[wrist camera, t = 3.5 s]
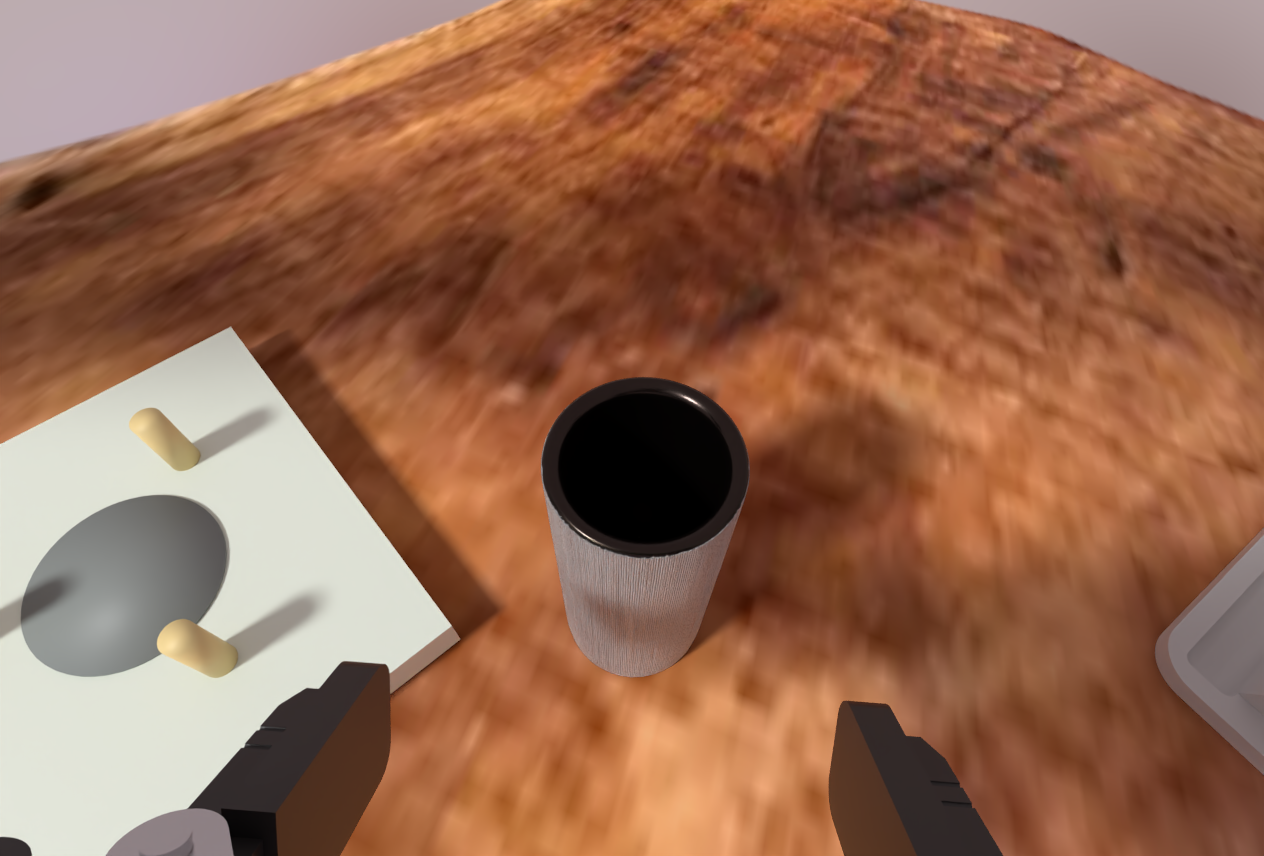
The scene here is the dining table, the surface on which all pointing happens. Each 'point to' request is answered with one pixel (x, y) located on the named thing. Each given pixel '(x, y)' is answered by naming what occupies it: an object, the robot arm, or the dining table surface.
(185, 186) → the dining table surface
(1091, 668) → the dining table surface
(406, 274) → the dining table surface
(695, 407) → the grey metal tumbler
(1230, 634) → the phone holder
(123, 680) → the board
